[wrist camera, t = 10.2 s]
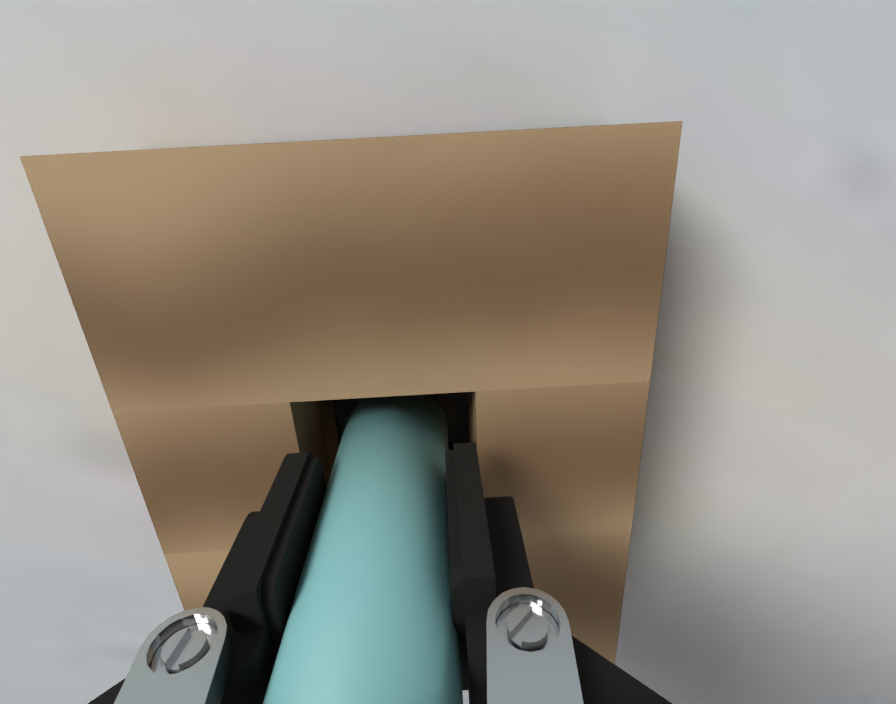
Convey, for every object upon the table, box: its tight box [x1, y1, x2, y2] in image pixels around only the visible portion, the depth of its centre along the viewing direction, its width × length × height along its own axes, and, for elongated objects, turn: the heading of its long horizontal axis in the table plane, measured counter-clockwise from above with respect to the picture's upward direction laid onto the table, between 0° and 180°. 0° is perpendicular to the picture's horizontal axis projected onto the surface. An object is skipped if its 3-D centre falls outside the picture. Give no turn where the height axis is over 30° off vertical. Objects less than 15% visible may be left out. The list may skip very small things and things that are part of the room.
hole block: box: [20, 121, 682, 664], centre depth 15 cm, size 16×13×4 cm
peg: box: [263, 394, 463, 704], centre depth 10 cm, size 3×3×10 cm
